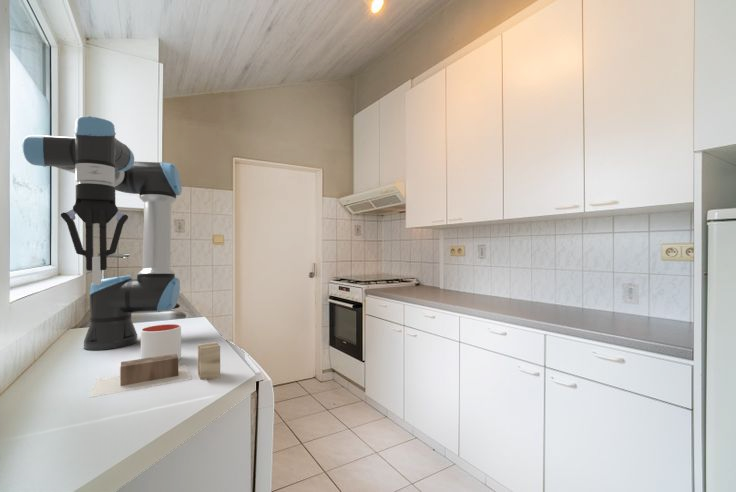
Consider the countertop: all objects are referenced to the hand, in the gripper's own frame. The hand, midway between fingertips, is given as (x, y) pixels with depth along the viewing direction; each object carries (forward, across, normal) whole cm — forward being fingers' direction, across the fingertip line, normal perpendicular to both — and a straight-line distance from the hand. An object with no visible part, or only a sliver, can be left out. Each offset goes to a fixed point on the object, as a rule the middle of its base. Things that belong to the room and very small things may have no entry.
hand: (96, 284), depth 86 cm
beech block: (+24, +23, -8) cm, 34 cm away
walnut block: (+22, +4, -2) cm, 22 cm away
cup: (+25, +14, +13) cm, 31 cm away
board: (+24, +9, -2) cm, 26 cm away
